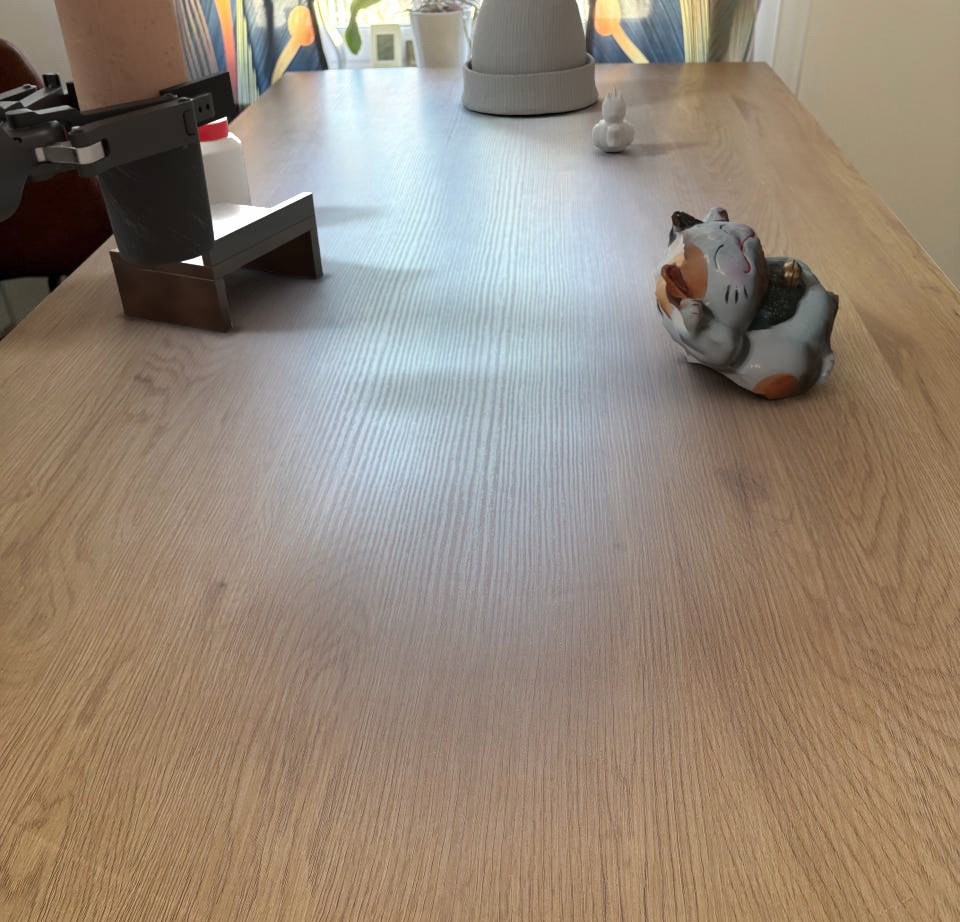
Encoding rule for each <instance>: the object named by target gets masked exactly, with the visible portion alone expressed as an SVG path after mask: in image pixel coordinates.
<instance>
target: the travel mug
mask: <svg viewBox="0 0 960 922" xmlns="http://www.w3.org/2000/svg"><path fill="white" fill-rule="evenodd" d="M53 1H54V6H55V10H56V14H57V18H58V19H57V20H58V22H59V27H60V31H61V36H62V39H63V40H62V41H63V43H64V48H65V52H66V57H67V60H68V61H67V62H68V64H69V65H68V66H69V69H70V73H71V78H72V81H73V82H74V86H75V91H76V95H77V99H78V103H79V107H80V111H85V110H90V109H96V108H101V107H106V106H111V105H116V104H122V103H127V102H132V101H137V100H142V99H148V98H153V97H158V96H160V93H159V91H160V90H163V89H166V88H169V87H172V86H175V85H178V84H182V83H185V82H188V81H190V78H189V74H188V68H187V63H186V59H185V52H184V47H183V41H182V38H181V33H180V28H179V23H178V17H177V12H176V6H175V1H174V0H53ZM96 177H97V179H98V182H99V186H100V191H101V194H102V198H103V200H104V205H105V207H106V212H107V216H108V219H109V222H110V227H111V230H112V234H113V237H114V240H115V244H116V248H117V247H118V250H119V253H120V256H121V257H122V258H123V259H124V260H126V261H128V262H131V263H136V264H143V265H161V264H171V263H178V262H183V261H187V260H191V259H194V258H197V257H200V256H202V255H204V254H206V253H208V252H209V251H211V250H212V249H213V248H214V246H215V237H214V229H213V222H212V215H211V209H210V203H209V196H208V190H207V183H206V177H205V171H204V164H203V158H202V151H201V145H200V140H199V141H197V142H195V143H193V144H188V145H187V148H186V149H183V150H182V149H179V148H175V149H171V150H168V151H165V152H161V153H158V154H155V155H152V156H148V157H145V158H142V159H139V160H135V161H132V162H129V163H126V164H122V165H119V166H116V167H113V168H111V169H109V170H107V171H105V172H103V173H101V174H99V175H97V176H96Z"/></svg>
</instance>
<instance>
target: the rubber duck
mask: <svg viewBox="0 0 960 922" xmlns="http://www.w3.org/2000/svg"><path fill="white" fill-rule="evenodd" d="M626 111H627V103H626V101H625V99H624V96H623V94H622V92H621V91H619V92H618V94H617V88H616V84H615V83H614V84H613V86H612V91H611V94H610V91H608V92H607V93H606V96H605V98H604V100H603V102H602V103H601V117H602V118H603V119H600V120H599V121H598V122H597V123H595V125H594V126H593V127H592V130H591V135H592V136H591V137H592V142H593V145H594V146H595V147H597V148H598V149H599V150H601V151H603V152H606V153H618V152H621V151H624V150H625V149H626V148H627V147H629V146H631V145H632V143H633V142H634V139H635V138H634V136H635V129H634V128H635V127H634V126H633V124H632V123H630V122H629V121H628V120H627V119H625V116H626V114H627V113H626Z"/></svg>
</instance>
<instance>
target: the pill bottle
mask: <svg viewBox="0 0 960 922" xmlns="http://www.w3.org/2000/svg"><path fill="white" fill-rule="evenodd" d="M198 132H199V138H200V145H201V151H202V158H203V164H204V171H205V177H206V183H207V190H208V196H209V203H210V206H211V205H213V204H215V203H217V202H222V203H230V204H237V205H245V206H253V204H252V198H251V192H250V185H249V179H248V174H247V168H246V160H245V156H244V150H243V143H242V140H240V139H239V138H238V137H237V136H235V134H234V133H232V132H231V131H230V128H229V122H228V117H225V118H222V119H220V120H217V121H214V122H212V123H209V124H206V125H204V126H201V127H198Z"/></svg>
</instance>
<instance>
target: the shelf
mask: <svg viewBox="0 0 960 922" xmlns="http://www.w3.org/2000/svg"><path fill="white" fill-rule="evenodd" d="M210 209H211V215H212V222H213V229H214V237H215V246H214V248H213V249H212V250H211V251H209V252H208V253H206V254H204V255H202V256H200V257H197V258H194V259H191V260H187V261H183V262H178V263H171V264H161V265H143V264H136V263H131V262H128V261H126V260H124V259H123V258H122V257H121V256H120V253H119V250H118V247H117V246H116V247H114V248H113V249H110V250H109V251H108V253H109V257H110V261H111V264H112V269H113V274H114V278H115V281H116V286H117V289H118V293H119V297H120V301H121V304H122V305H121V306H122V309H123V314H124V315H125V316H132V317H136V318H142V319H148V320H153V321H159V322H164V323H169V324H174V325H180V326H184V327H190V328H196V329H202V330H206V331H211V332H217V333H223V334H225V333H227V332H229V331H230V330H232V329H233V323H232V317H231V312H230V307H229V302H228V297H227V292H226V286H225V279H224V276H227V275H228V274H230V273H231V272H233V271H235V270H237V269H239V268H243V269H249V270H256V271H262V272H269V273H274V274H275V273H276V274H282V275H288V276H293V277H300V278H301V277H302V278H308V279H313V280H318V279H319V278H321V277H323V276H324V272H323V271H324V269H323V264H322V263H323V262H322V257H321V248H320V247H321V246H320V239H319V232H318V225H317V218H316V217H317V216H316V210H315V203H314V196H313V193H312V192H306V191H304V192H301V193H299V194H298V195H295V196H294V197H291V198H289V199H287V200H284V201H282V202H281V203H279V204H277V205H275V206H273V207H270V208H269V207H260V206H259V207H258V206H254V205H252V206H245V205H237V204H230V203H222V202H217V203H215V204H213V205H211V206H210Z"/></svg>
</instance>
